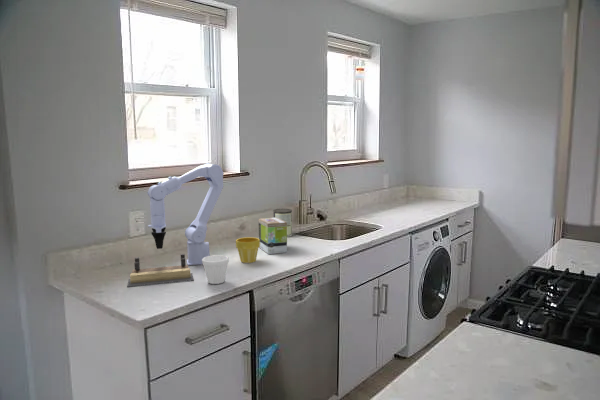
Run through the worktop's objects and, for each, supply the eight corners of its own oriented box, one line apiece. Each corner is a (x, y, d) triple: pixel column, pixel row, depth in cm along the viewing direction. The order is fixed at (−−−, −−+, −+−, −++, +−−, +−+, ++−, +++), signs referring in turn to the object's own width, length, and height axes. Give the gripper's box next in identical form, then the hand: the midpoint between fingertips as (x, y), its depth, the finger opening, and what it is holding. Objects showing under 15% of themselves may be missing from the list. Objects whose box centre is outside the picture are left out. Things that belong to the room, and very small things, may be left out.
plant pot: (246, 257, 211) (245, 236, 209) (264, 259, 206) (264, 238, 204) (231, 262, 202) (230, 240, 201) (250, 265, 197) (250, 243, 195)
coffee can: (269, 235, 256) (269, 209, 254) (284, 232, 263) (284, 207, 261) (281, 238, 248) (280, 212, 246) (296, 235, 255) (295, 210, 253)
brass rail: (190, 275, 183) (189, 268, 182) (190, 277, 180) (190, 270, 179) (131, 281, 176) (130, 273, 176) (130, 283, 173) (130, 275, 173)
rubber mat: (192, 274, 186) (192, 273, 186) (193, 280, 177) (193, 279, 177) (128, 279, 179) (128, 278, 179) (127, 287, 170) (127, 286, 170)
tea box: (287, 252, 218) (287, 221, 216) (267, 254, 215) (267, 223, 212) (277, 245, 232) (277, 216, 230) (258, 247, 228) (257, 218, 226)
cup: (197, 282, 175) (196, 258, 174) (219, 276, 182) (218, 253, 181) (212, 288, 168) (211, 263, 167) (234, 282, 175) (234, 258, 174)
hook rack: (187, 267, 195) (187, 253, 195) (189, 272, 188) (188, 258, 187) (132, 272, 189) (131, 257, 188) (131, 277, 181) (130, 263, 181)
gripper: (148, 212, 197) (149, 243, 198) (147, 217, 183) (149, 251, 185) (165, 211, 199) (166, 242, 200) (165, 216, 185) (167, 249, 187)
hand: (159, 246), depth 193 cm, fingers open, 7 cm apart
